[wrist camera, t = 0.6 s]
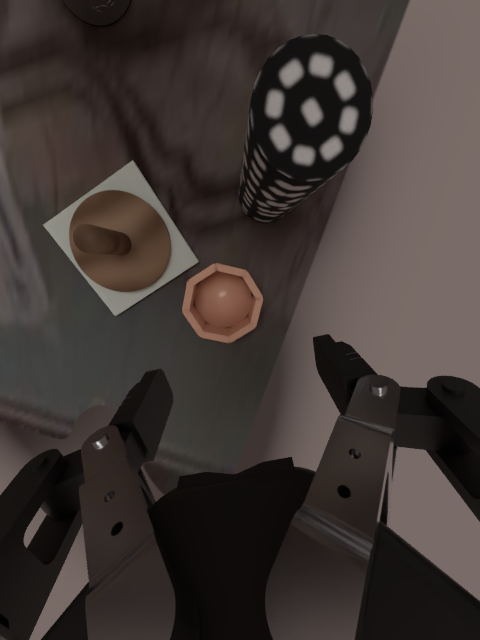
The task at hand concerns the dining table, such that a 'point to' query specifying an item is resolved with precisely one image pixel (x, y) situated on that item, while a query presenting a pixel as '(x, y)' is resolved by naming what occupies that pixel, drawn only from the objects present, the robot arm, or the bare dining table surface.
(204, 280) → the terracotta bowl
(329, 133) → the spotted tube
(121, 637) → the robot arm
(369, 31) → the dining table surface
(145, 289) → the rubber mat
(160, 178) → the dining table surface
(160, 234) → the walnut lid
